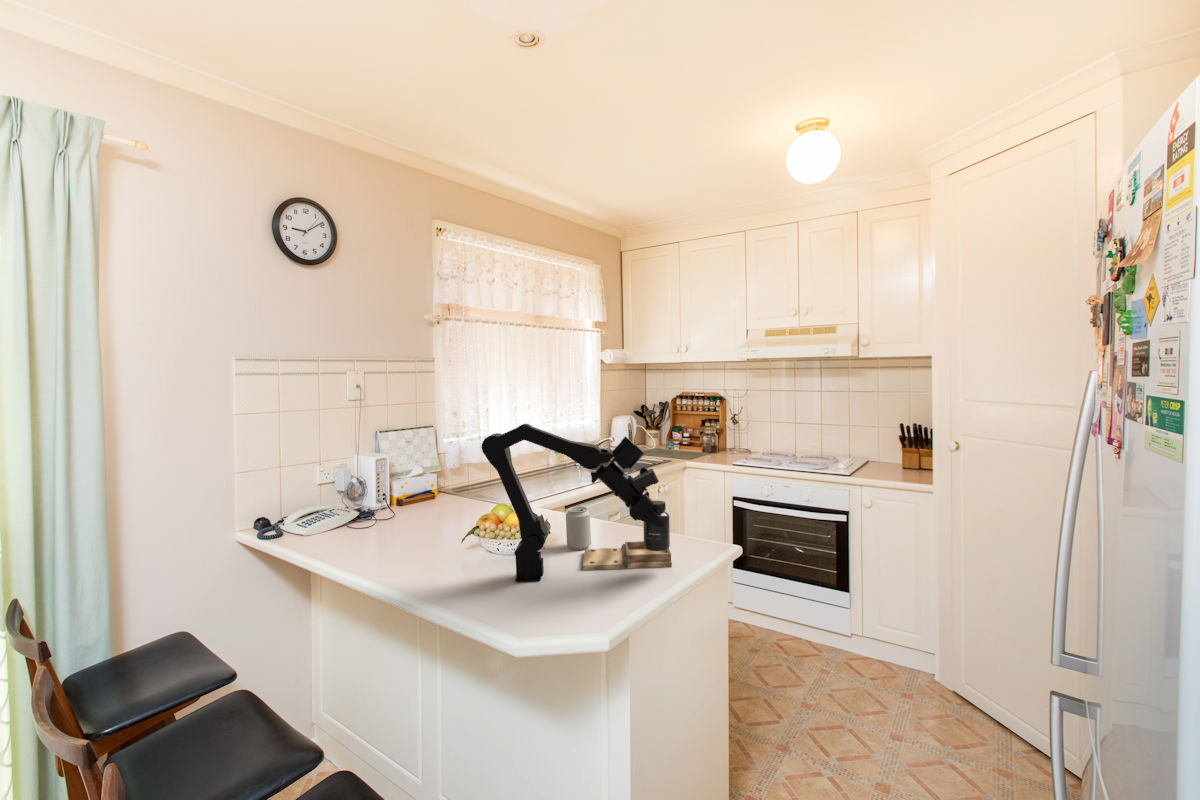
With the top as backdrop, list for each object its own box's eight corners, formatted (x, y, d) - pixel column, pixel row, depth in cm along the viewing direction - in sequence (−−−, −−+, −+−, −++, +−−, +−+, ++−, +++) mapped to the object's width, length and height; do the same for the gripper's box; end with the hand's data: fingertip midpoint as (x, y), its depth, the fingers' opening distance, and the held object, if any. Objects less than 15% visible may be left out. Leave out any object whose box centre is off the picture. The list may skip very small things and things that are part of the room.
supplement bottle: (650, 553, 134) (649, 506, 134) (639, 545, 141) (638, 500, 140) (674, 549, 137) (673, 503, 136) (663, 542, 143) (661, 498, 143)
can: (590, 550, 159) (589, 511, 159) (566, 551, 159) (564, 511, 159) (591, 542, 167) (590, 505, 166) (568, 543, 167) (566, 506, 166)
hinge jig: (583, 570, 143) (582, 558, 143) (585, 553, 157) (584, 542, 157) (671, 566, 143) (671, 554, 143) (665, 550, 157) (665, 539, 157)
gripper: (642, 465, 129) (688, 508, 129) (636, 454, 147) (677, 492, 148) (610, 498, 129) (657, 541, 129) (609, 483, 148) (650, 521, 148)
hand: (661, 522), depth 139 cm, fingers closed on supplement bottle, 7 cm apart
